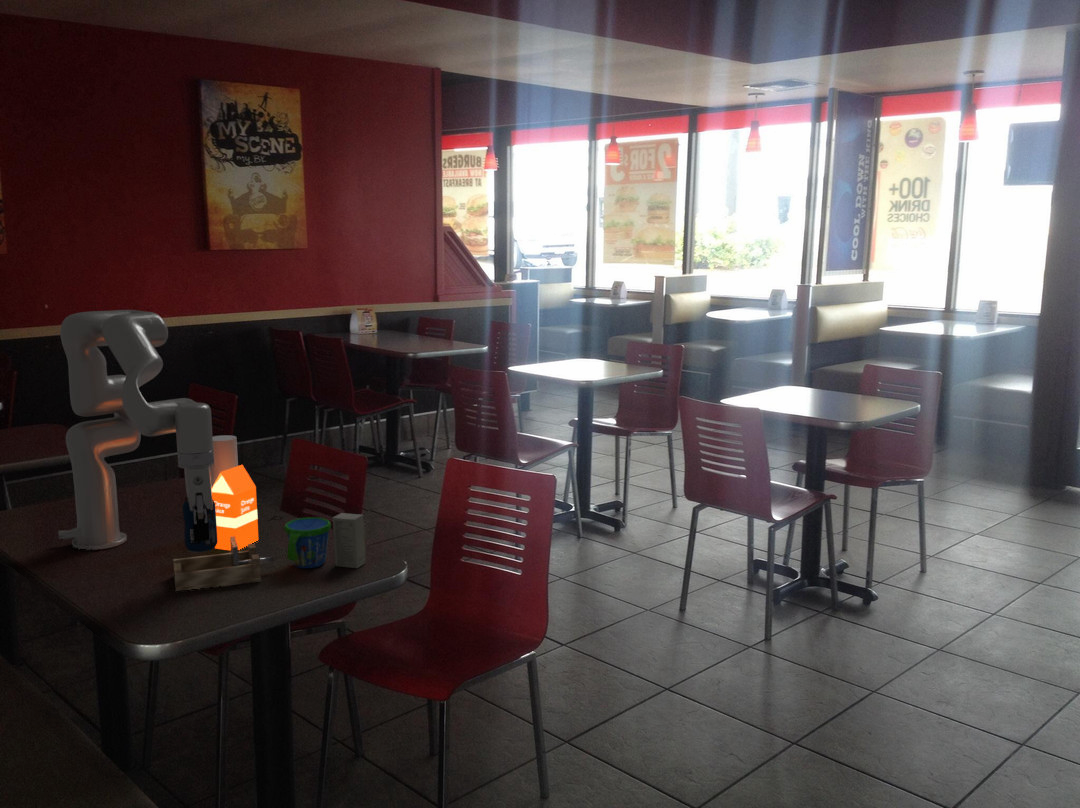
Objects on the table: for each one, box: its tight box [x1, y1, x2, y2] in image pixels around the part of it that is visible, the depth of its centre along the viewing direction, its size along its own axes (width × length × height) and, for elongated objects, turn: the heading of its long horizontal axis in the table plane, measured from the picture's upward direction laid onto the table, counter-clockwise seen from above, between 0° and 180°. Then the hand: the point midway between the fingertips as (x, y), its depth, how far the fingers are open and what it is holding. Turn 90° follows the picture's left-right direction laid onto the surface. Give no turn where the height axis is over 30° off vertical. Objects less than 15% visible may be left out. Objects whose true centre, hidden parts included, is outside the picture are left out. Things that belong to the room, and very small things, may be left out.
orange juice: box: [212, 464, 259, 552], centre depth 234 cm, size 8×9×20 cm
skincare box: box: [332, 512, 367, 569], centre depth 220 cm, size 6×4×12 cm
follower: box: [230, 536, 274, 566], centre depth 214 cm, size 9×8×7 cm
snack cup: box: [283, 516, 332, 569], centre depth 221 cm, size 16×10×10 cm
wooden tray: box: [172, 543, 262, 592], centre depth 211 cm, size 18×12×6 cm, turn 113°
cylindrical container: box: [209, 434, 239, 487], centre depth 246 cm, size 7×7×25 cm
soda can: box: [182, 496, 218, 554], centre depth 208 cm, size 7×7×12 cm
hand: (200, 534), depth 209 cm, fingers closed on soda can, 6 cm apart
